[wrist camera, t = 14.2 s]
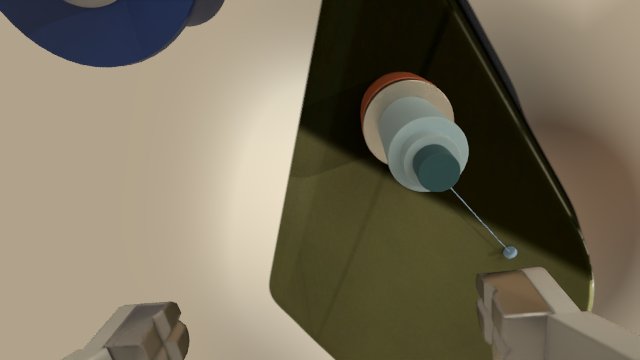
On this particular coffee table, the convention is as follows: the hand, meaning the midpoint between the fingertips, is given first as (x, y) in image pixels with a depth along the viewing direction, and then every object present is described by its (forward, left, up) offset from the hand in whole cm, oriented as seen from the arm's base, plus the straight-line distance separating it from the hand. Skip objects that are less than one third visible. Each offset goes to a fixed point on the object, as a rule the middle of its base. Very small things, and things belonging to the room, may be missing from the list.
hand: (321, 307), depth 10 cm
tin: (+2, +6, -35) cm, 36 cm away
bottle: (+2, +6, -26) cm, 27 cm away
